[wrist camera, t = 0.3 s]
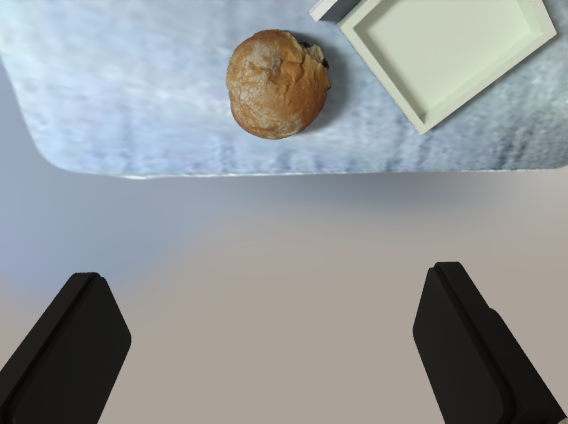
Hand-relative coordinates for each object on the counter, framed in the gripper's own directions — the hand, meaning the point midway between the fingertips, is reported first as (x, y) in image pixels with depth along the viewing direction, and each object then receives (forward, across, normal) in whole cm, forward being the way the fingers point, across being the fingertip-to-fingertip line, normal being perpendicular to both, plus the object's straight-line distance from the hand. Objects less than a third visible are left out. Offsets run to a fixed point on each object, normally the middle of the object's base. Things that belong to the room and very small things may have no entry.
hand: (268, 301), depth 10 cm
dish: (+29, -15, -4) cm, 33 cm away
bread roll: (+30, 0, 0) cm, 30 cm away
